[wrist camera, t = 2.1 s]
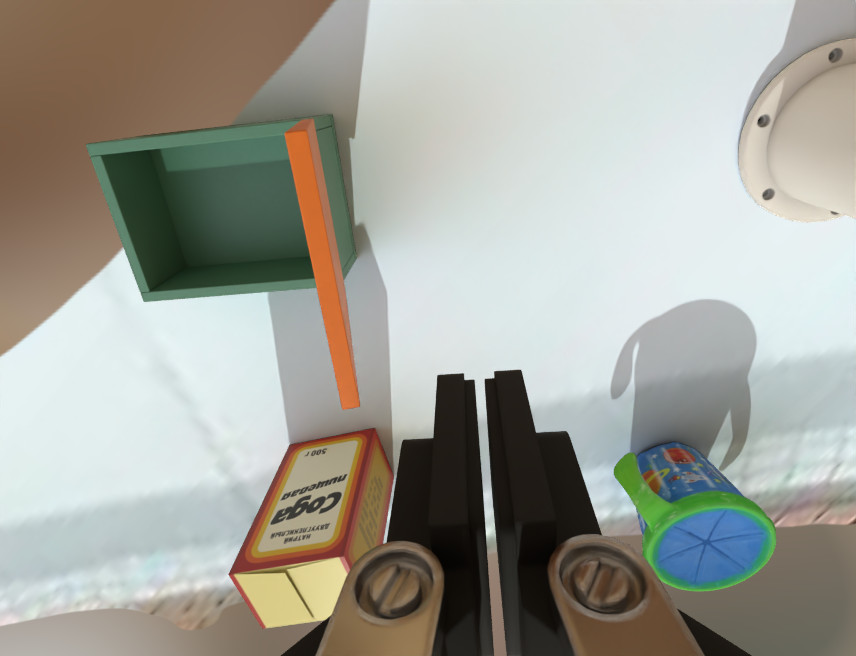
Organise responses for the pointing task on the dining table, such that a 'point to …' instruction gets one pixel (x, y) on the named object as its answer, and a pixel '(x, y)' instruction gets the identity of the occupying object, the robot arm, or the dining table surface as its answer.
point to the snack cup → (694, 519)
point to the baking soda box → (314, 527)
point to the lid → (323, 254)
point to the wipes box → (218, 209)
